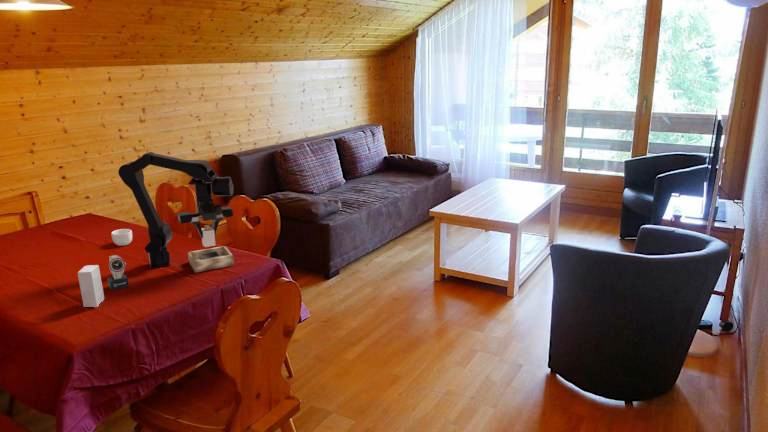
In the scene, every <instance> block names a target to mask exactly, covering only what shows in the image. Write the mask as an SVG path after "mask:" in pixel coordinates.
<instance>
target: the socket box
mask: <svg viewBox="0 0 768 432" xmlns="http://www.w3.org/2000/svg"><path fill="white" fill-rule="evenodd" d="M187 258H188V260H187V261H188V263H189V265H190V268H191V269H192V270H193V272H194V273H200V272H206V271H211V270H217V269H222V268H227V267H228V268H229V267H233V266H235V262H234V254H233V253H232V252H231V251H230V250H229V248H228V247H227V246H226V245H223V246H217V247H212V248H205V249H200V250H192V251H188V252H187Z"/></svg>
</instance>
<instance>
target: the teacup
mask: <svg viewBox="0 0 768 432" xmlns="http://www.w3.org/2000/svg"><path fill="white" fill-rule="evenodd" d="M111 239H112V242H113V244H114V245H117V246H118V247H119V246H120V247H121V246H128V245H129V244H130V243H131V242H132V241H133V231H132V229H129V228H120V229H115V230H113V231H112V232H111Z"/></svg>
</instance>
